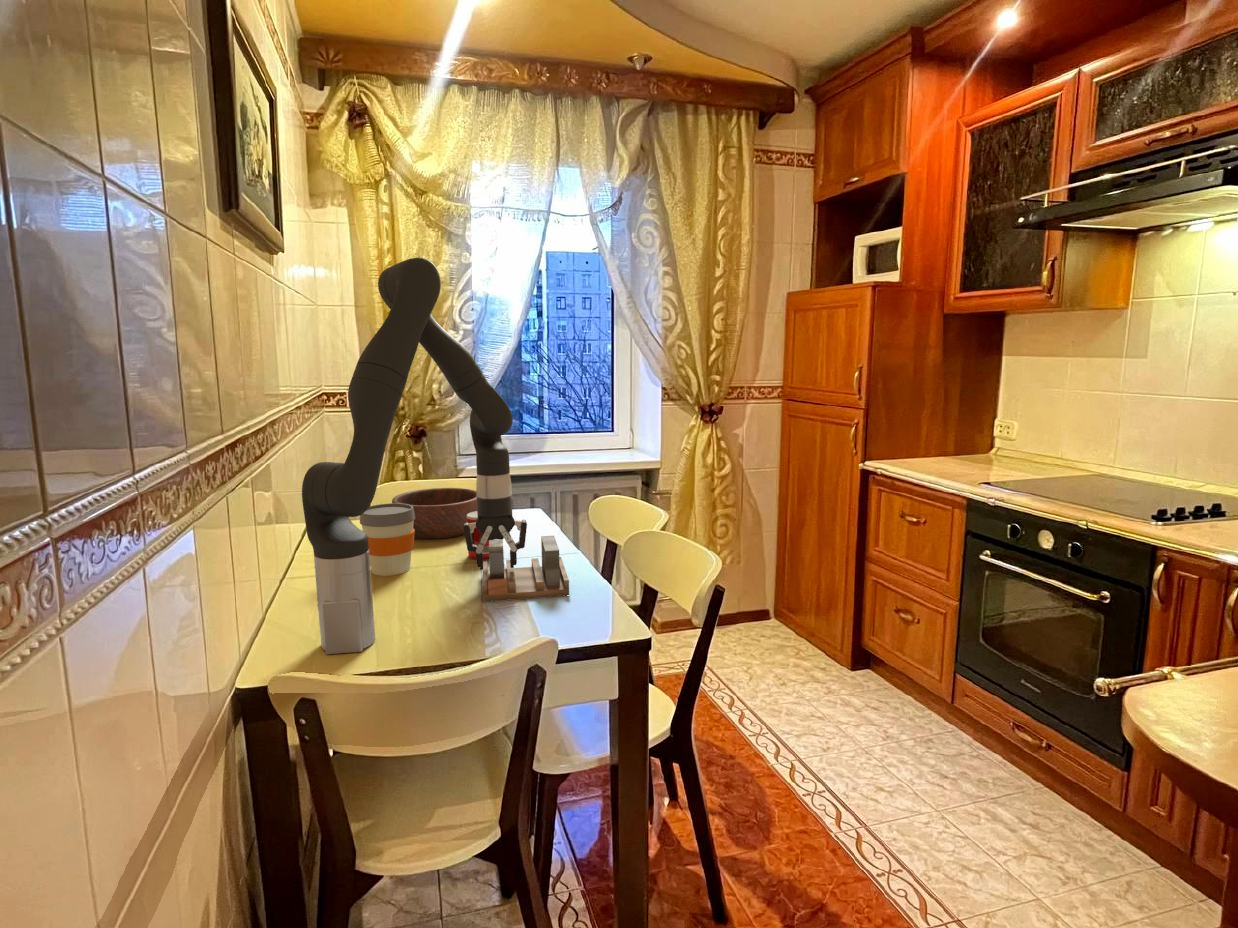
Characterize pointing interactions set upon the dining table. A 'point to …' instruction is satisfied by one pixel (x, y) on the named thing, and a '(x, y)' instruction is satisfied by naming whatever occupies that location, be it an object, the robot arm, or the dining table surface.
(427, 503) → the wooden bowl
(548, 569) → the rack
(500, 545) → the panel
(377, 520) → the reusable coffee cup
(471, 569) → the dining table surface
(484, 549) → the canned food
